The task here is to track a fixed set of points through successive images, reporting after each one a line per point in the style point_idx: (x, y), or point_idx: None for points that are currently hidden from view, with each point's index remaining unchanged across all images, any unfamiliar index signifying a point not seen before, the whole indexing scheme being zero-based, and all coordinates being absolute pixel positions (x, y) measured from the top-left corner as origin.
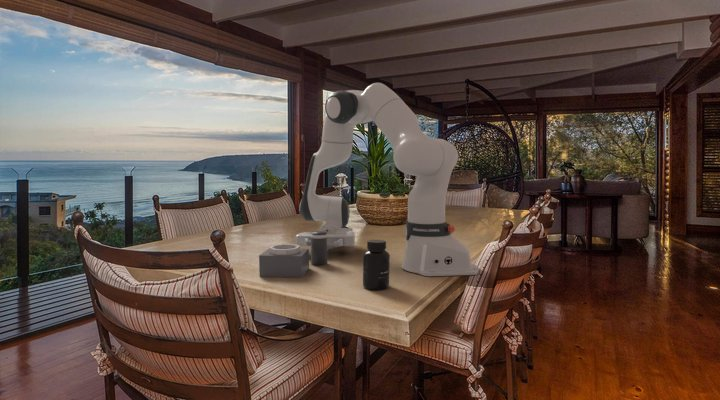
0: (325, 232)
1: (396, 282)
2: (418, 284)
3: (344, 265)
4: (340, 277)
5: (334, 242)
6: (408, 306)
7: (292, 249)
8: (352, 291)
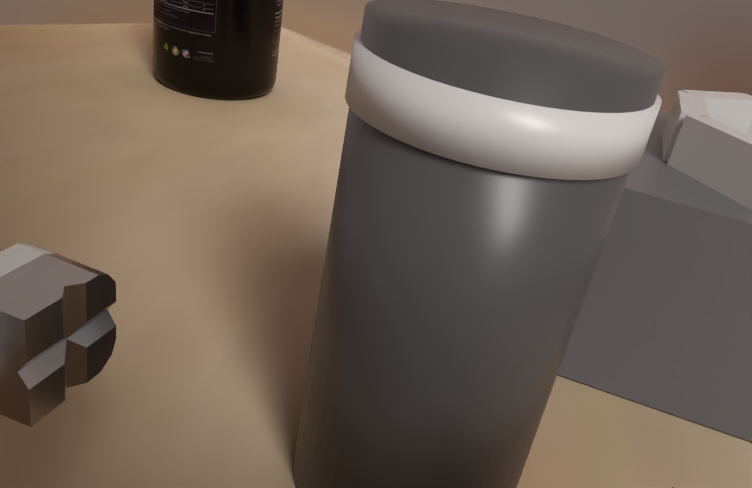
0: (396, 4)
1: (82, 74)
2: (14, 45)
3: (137, 326)
4: (320, 175)
5: (112, 283)
6: None
7: (710, 94)
8: (333, 93)
